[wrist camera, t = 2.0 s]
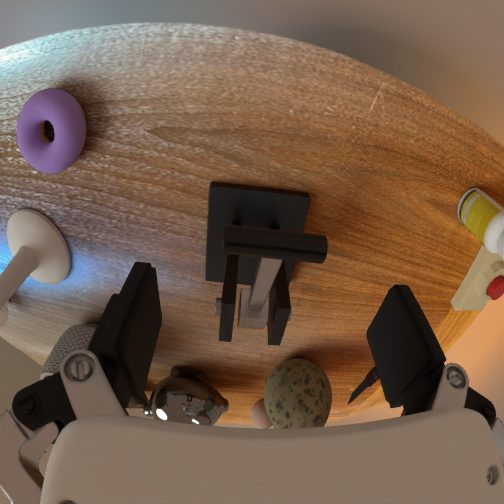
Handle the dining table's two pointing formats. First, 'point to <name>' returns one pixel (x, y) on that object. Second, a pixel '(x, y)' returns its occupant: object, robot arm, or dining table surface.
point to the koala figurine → (3, 314)
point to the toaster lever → (268, 263)
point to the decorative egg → (297, 395)
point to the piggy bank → (186, 400)
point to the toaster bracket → (243, 267)
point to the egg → (260, 416)
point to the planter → (67, 347)
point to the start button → (496, 288)
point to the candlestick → (33, 252)
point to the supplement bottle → (483, 219)
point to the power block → (478, 281)
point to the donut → (65, 126)
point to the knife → (365, 383)
